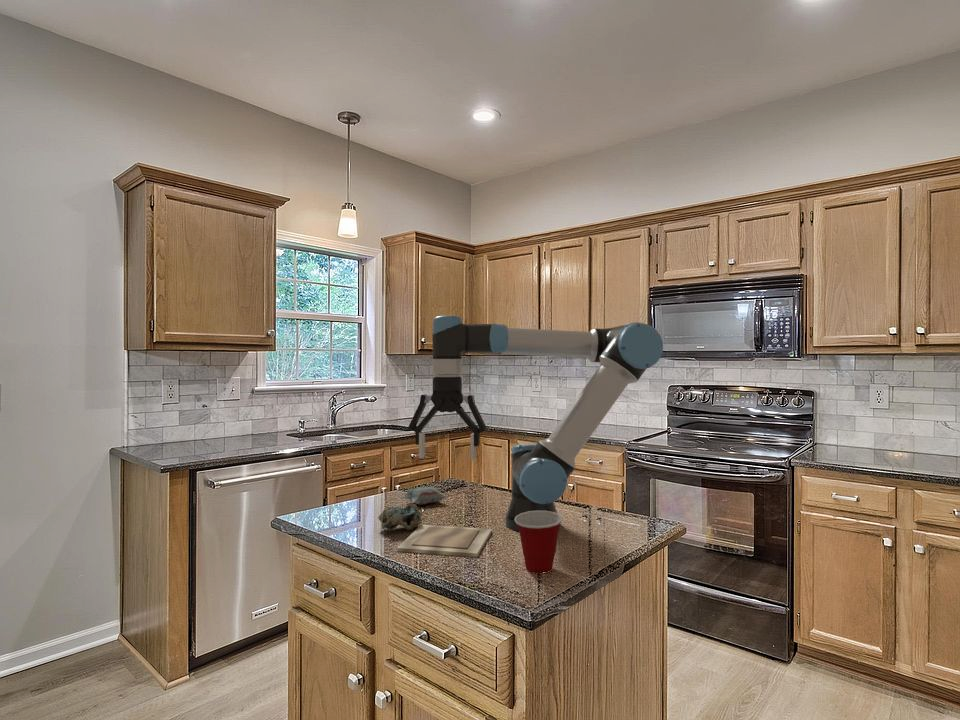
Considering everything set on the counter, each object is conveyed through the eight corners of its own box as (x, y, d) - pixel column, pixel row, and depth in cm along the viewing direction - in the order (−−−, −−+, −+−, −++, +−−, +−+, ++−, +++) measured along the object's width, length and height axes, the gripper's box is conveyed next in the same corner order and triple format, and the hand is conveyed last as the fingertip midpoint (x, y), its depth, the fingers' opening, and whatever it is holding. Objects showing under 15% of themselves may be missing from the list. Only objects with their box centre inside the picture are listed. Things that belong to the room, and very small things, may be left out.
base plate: (491, 532, 157) (491, 527, 157) (477, 557, 137) (477, 552, 137) (421, 528, 161) (421, 523, 161) (397, 551, 141) (397, 546, 141)
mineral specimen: (384, 532, 152) (397, 504, 153) (371, 520, 159) (383, 492, 160) (422, 542, 159) (433, 514, 159) (407, 529, 166) (418, 503, 167)
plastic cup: (504, 569, 130) (504, 515, 130) (536, 558, 137) (536, 507, 137) (539, 583, 122) (539, 526, 122) (572, 570, 129) (572, 517, 129)
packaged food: (447, 504, 186) (447, 488, 186) (412, 508, 180) (412, 492, 180) (437, 498, 193) (436, 483, 193) (403, 502, 188) (403, 487, 188)
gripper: (497, 375, 150) (497, 457, 150) (405, 375, 155) (405, 454, 155) (492, 376, 143) (492, 462, 143) (396, 376, 147) (396, 459, 148)
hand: (447, 458), depth 149 cm, fingers open, 13 cm apart
